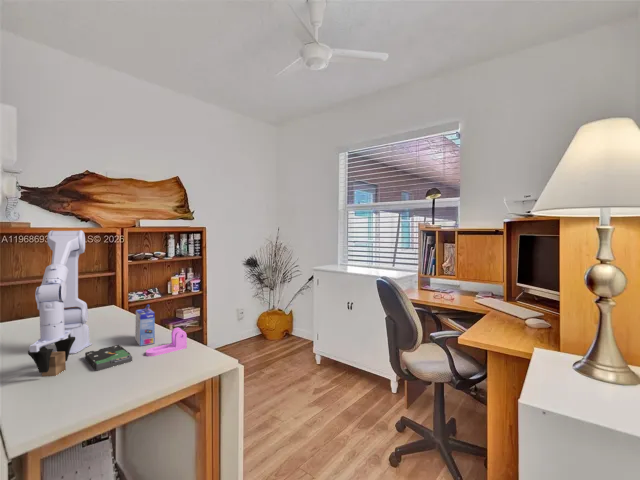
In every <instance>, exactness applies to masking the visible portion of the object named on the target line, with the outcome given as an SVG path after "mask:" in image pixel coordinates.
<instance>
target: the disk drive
mask: <svg viewBox="0 0 640 480" xmlns="http://www.w3.org/2000/svg"><path fill="white" fill-rule="evenodd" d="M84 358H85V360H86V361H87V362H88V364H89V365H90V364H91V365H92V366H91V365H90V366H91V367H92V368H93V370H94V369H95V370H94V371H96V372H99V371H103V370H106V369H109V368H113V366H114V367H117V365H118V366H121V365H124V363H125V364H128V363H130V362H131V361H132V362H133V356H132V354H131V353H130V352H128V350H127V349H125V348H124V347H123V346H122V345H120V344H115V345H112V346H107V347H101V348H100V349H98V350H91V351H86V352H85V354H84Z"/></svg>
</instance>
